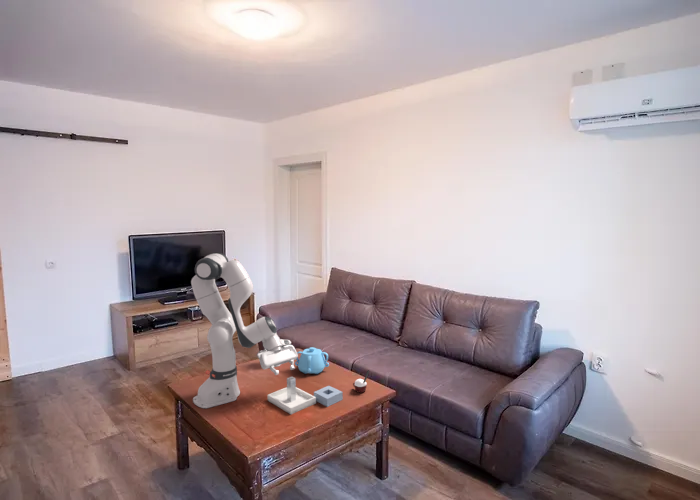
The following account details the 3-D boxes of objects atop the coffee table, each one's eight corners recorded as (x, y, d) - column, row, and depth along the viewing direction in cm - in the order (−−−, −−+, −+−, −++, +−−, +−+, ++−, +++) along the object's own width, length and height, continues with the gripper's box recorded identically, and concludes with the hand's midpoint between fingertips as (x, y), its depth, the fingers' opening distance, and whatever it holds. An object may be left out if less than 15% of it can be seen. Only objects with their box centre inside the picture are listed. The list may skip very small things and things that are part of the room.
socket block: (327, 406, 192) (327, 398, 191) (313, 399, 199) (313, 392, 198) (342, 399, 199) (342, 391, 198) (329, 393, 206) (328, 385, 205)
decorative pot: (318, 363, 245) (317, 341, 244) (331, 372, 232) (331, 349, 230) (293, 369, 237) (292, 346, 235) (305, 378, 223) (305, 354, 222)
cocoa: (351, 390, 210) (350, 367, 209) (361, 386, 213) (360, 364, 212) (361, 396, 202) (360, 373, 201) (371, 392, 205) (370, 370, 204)
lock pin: (290, 402, 195) (290, 380, 193) (287, 399, 197) (286, 378, 196) (295, 399, 197) (295, 378, 195) (292, 397, 199) (291, 376, 198)
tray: (290, 414, 185) (290, 408, 185) (267, 400, 198) (267, 394, 198) (316, 403, 195) (316, 397, 195) (292, 390, 209) (292, 385, 208)
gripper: (258, 348, 195) (269, 374, 189) (292, 339, 209) (304, 363, 203) (253, 355, 198) (264, 380, 192) (287, 345, 213) (298, 369, 207)
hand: (285, 371), depth 198 cm, fingers open, 8 cm apart
